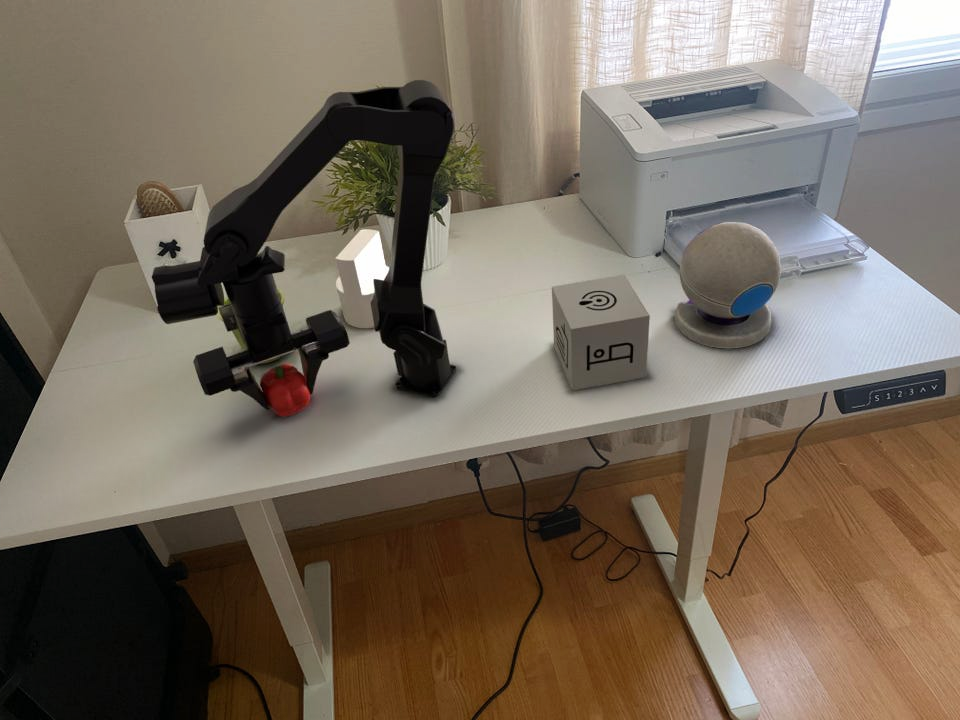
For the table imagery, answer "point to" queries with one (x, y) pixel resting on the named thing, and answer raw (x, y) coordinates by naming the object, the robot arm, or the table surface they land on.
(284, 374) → the pepper
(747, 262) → the webcam
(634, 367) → the icon cube
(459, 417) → the table surface
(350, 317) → the cylinder with rectangular tab
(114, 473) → the table surface
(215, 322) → the table surface
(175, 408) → the table surface
